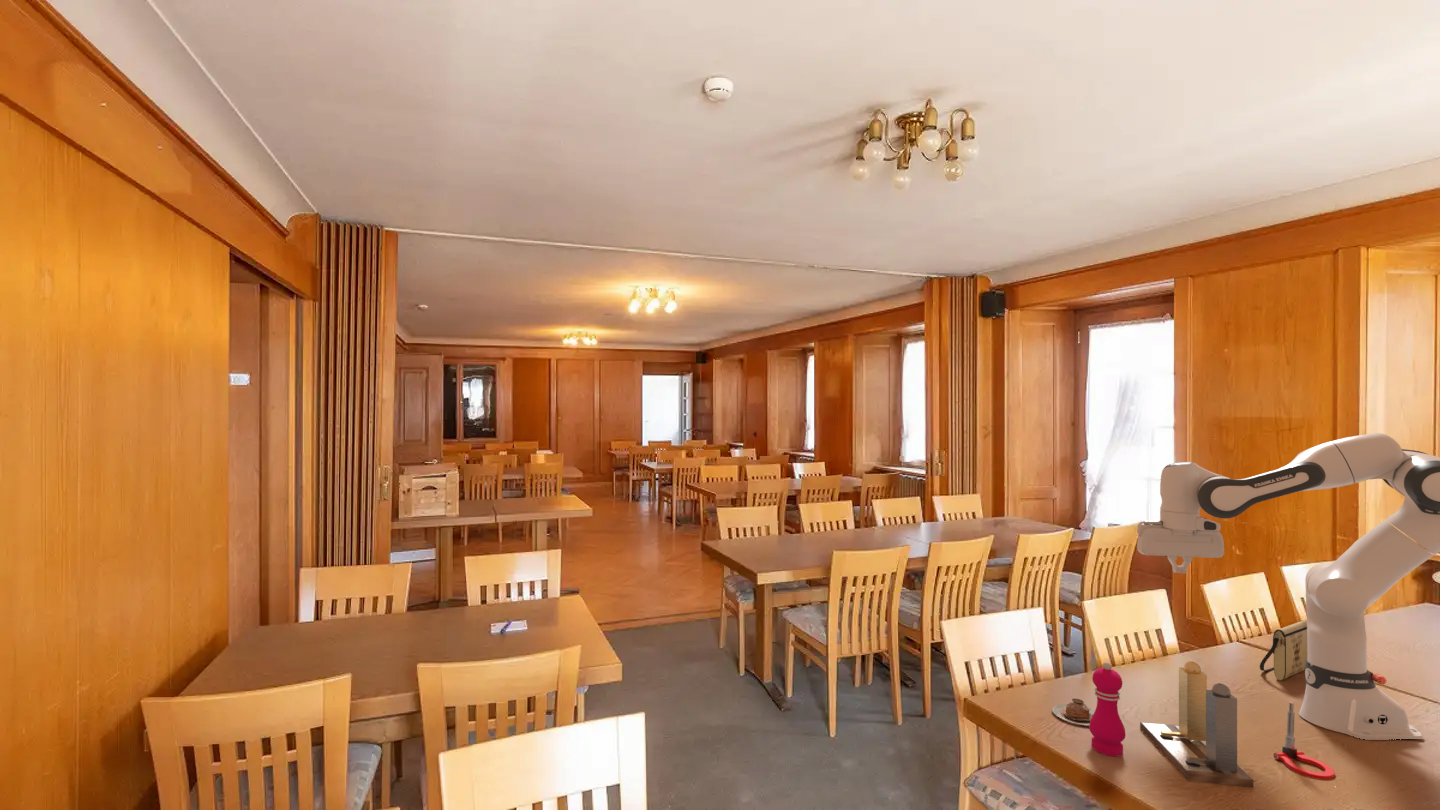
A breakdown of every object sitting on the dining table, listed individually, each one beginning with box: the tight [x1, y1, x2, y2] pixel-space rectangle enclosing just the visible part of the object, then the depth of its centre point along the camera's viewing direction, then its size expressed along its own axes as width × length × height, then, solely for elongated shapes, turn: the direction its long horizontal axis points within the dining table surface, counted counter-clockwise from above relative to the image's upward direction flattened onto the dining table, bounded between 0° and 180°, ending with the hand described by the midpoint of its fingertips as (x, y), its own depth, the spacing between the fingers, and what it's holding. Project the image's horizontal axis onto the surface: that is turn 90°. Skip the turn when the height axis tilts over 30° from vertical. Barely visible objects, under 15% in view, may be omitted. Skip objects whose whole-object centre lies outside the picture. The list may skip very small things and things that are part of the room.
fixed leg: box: [1186, 682, 1238, 773], centre depth 145 cm, size 8×4×18 cm, turn 79°
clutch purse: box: [1259, 618, 1307, 682], centre depth 203 cm, size 30×7×15 cm, turn 120°
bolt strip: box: [1142, 722, 1233, 775], centre depth 153 cm, size 9×22×1 cm, turn 169°
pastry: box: [1051, 698, 1096, 727], centre depth 171 cm, size 12×12×5 cm
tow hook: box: [1273, 701, 1336, 780], centre depth 147 cm, size 8×13×9 cm
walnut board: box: [1139, 721, 1255, 788], centre depth 152 cm, size 12×24×2 cm, turn 169°
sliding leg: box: [1161, 660, 1208, 741], centre depth 156 cm, size 8×4×17 cm, turn 79°
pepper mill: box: [1088, 661, 1126, 757], centre depth 155 cm, size 7×7×20 cm
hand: (1179, 572), depth 183 cm, fingers closed
